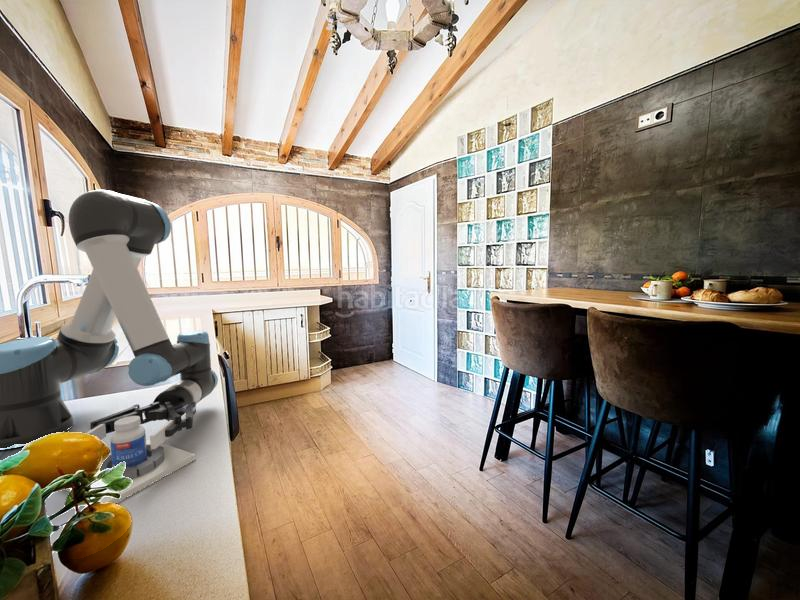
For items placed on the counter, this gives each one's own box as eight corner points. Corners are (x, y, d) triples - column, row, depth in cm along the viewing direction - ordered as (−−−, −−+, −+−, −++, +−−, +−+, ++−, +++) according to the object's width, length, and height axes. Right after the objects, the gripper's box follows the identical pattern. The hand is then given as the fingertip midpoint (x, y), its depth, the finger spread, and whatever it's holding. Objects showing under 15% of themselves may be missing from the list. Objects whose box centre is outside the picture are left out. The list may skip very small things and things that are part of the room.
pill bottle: (114, 478, 62) (109, 429, 61) (111, 466, 66) (106, 420, 65) (150, 466, 66) (146, 419, 65) (145, 455, 69) (141, 411, 69)
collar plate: (57, 485, 62) (55, 472, 61) (150, 444, 76) (149, 433, 76) (104, 510, 55) (103, 495, 55) (195, 459, 70) (195, 447, 70)
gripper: (229, 411, 85) (185, 458, 63) (126, 416, 82) (44, 468, 61) (228, 383, 84) (183, 422, 63) (123, 387, 81) (40, 429, 60)
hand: (114, 444), depth 62 cm, fingers open, 12 cm apart
